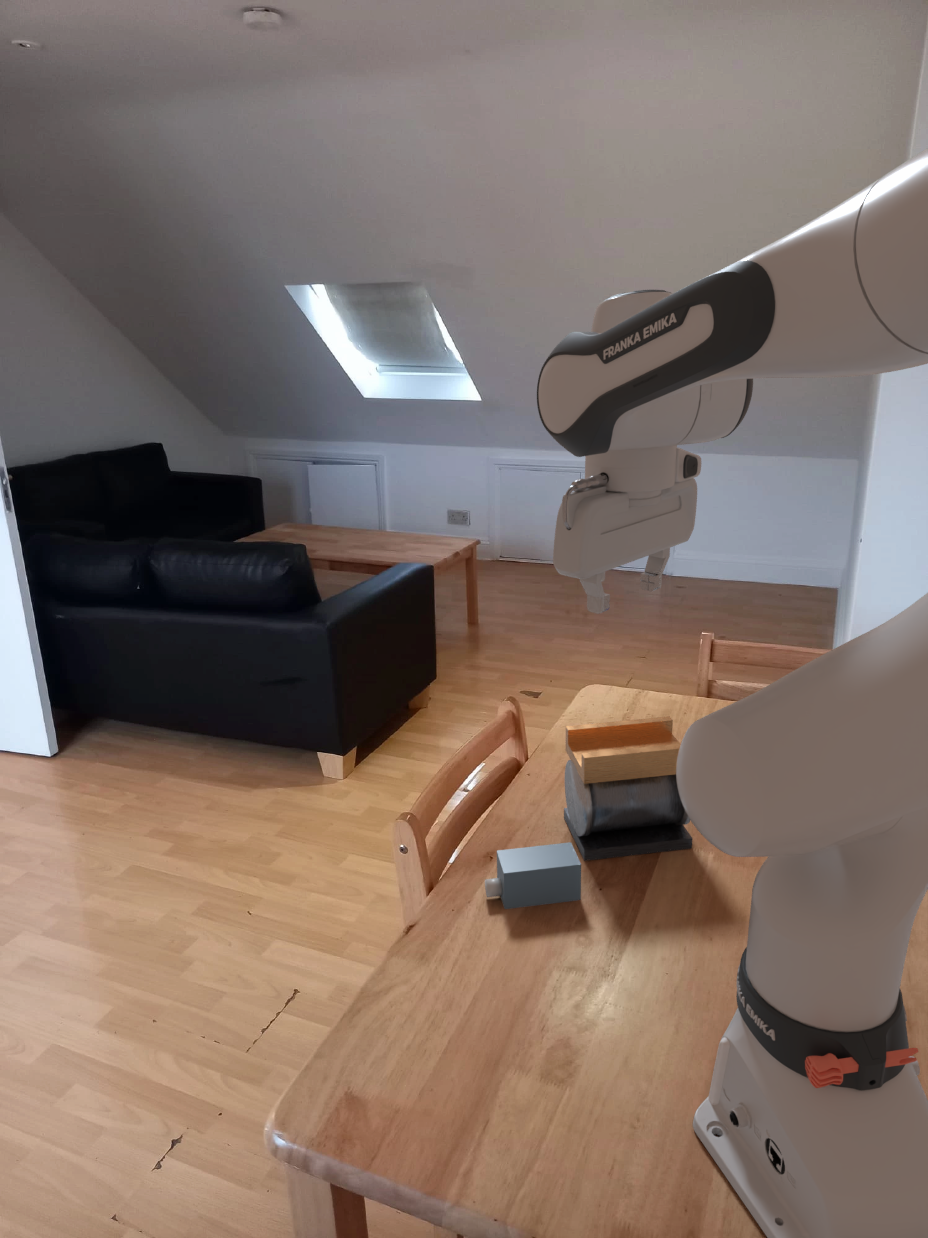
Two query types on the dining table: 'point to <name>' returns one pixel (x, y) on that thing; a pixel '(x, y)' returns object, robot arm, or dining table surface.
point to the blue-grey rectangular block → (536, 876)
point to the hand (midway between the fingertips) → (625, 599)
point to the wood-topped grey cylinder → (624, 789)
